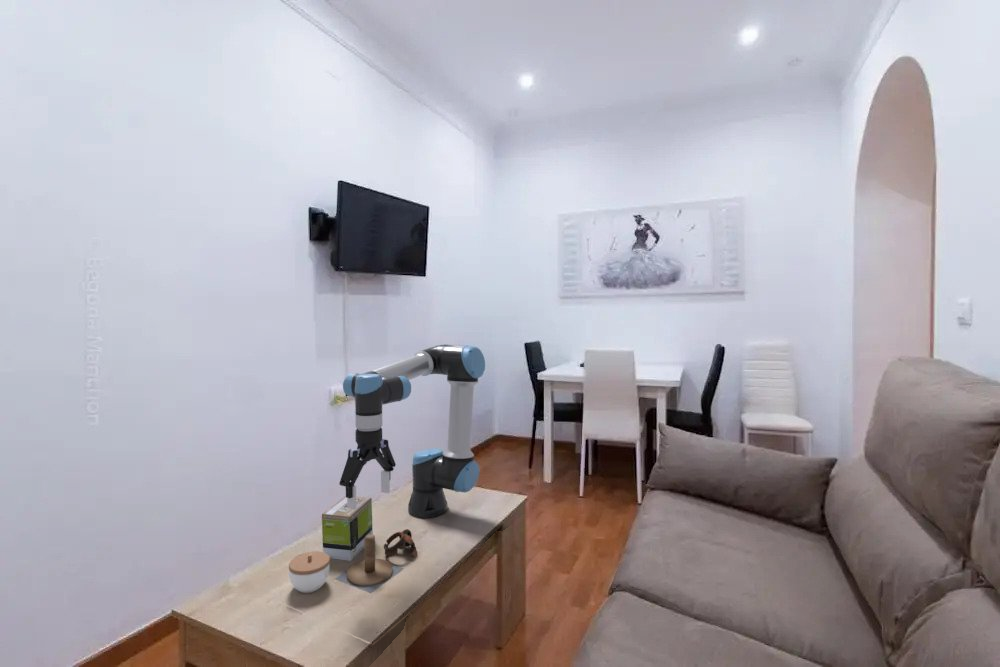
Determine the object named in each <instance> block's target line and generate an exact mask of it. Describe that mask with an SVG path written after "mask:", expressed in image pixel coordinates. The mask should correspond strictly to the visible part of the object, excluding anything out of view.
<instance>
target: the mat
mask: <svg viewBox="0 0 1000 667" xmlns="http://www.w3.org/2000/svg"><path fill="white" fill-rule="evenodd" d="M392 567H393V572H392V575H391V576H390V577H389V578H388V579H387V580H385V581H384V582H382V583H379V584H376V585H372V586H356V585H353V584H351V583H350V582H349V581H348V580H347V571H348V569H347V570H346V571H344V572H343V573H341V574H340V575H338V576H336V577H334V580H336V581H339V582H341V583H344V584H347V585H349V586H352V587H355V588H357V589H359V590H362V591H365V592H367V593H369V594H371V593H373V592H374V591H376V590H377V589H378V588H380V587H381V586H383V585H384V584H385V583H387V582H388V581H389V580H391V579H392V578H393V577H394V576H396V575H397V574H399V573H400V572H402V571H404V570H405V568H403V567H400V566H397V565H394V564H392Z"/></svg>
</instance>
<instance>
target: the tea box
mask: <svg viewBox="0 0 1000 667" xmlns="http://www.w3.org/2000/svg"><path fill="white" fill-rule="evenodd" d="M372 504H373V502H372V497H365V496H356V509H355V510H353V509H350V508H347V498H346V495H345V496H343V497H342V498H340V500H338V501H337V502H336V503H334V504H333V505H332V506H331V507H329V508H328V509H327V510H325V511H324V512H323V513H322V514H321V534H322V535H321V536H322V552H324V553H327V554H328V555H329V556H330V559H335V560H344V561H349V562H350V561H353V559H354V558H355V557H357V555H358V554H359V553H360V552H361V551H362V550H363V549H364V537H365V536H367V535H374V534H373V532H374V531H373V506H372Z"/></svg>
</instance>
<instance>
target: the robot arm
mask: <svg viewBox="0 0 1000 667" xmlns="http://www.w3.org/2000/svg"><path fill="white" fill-rule="evenodd" d="M485 370H486V360H485V356H484V354H483V352H482V350H481V349H480V348H478V347H477V346H474V345H473V346H472V345H459V344H439V345H435V346H432V347H428V348H426V349H423V350H419V351H417V352H416V353H414V355H413V356H411V357H407V358H405V359H402V360H399V361H396V362H393V363H390V364H387V365H385V366H382V367H379V368H376V369H373V370H371V371H367V372H363V373H359V372H358V373H357V372H356V373H350V374H348V375H346V377H344V380H343V382H342V389H343V393H344V394H345V395H346V396H348V397H351V398H354V401H355V402H354V403H355V411H354V413H355V417H354V418H355V428H356V429H355V432H354V433H355V442H356V444H357V446H356V449H351V448H350V449H348V451H347V459H346V462H345V465H344V468H343V471H342V474H341V477H340V481H339V486H341V487H344V488H345V496H346V498H347V508H350V509H353V510H355V509H356V497H357V485H355V484H356V482H357V480H358V478H359V475H360V474H361V472H362V470H363V468H364V466H365V465H367V463H368V462H371V460H375V461H376V462H377V463H378V465H379V466H381V467H380V468H382V470H381V471H380V492H381V493H386V494H389V493H390V488H391V487H390V484H391V483H390V482H391V472H393V471H394V469H395V467H396V466H397V465H396V462H395V459H394V457H393V454H392V451H391V449H390V446H389V440H388V439H385V438H383V428H382V427H383V405H387V404H391V403H396V402H401V401H403V400H406V399H408V398H409V397H410V395H411V393H412V384H411V381H410V380H412V379H416V378H418V377H420V376H422V377H428V376H429V375H430V376H431V375H443V376H446V381H447V382H448V384H449V385H450V393H449V394H450V396H449V411H448V412H449V414H448V428H447V429H448V431H447V445H446V446H447V449H446V450H445V451H443V450H442V449H441V448H430V449H424V450H420V451H417V452H416V453H414V455H413V456H412V464H411V466H412V467H411V468H412V469H411V470H412V493H411V495H410V498H409V502H408V505H407V511H408V514H410V515H411V516H413V517H416V518H421V519H422V518H424V519H425V518H427V519H428V518H429V519H430V518H435V517H439V516H441V515H444V514H446V512H447V511H448V501H447V499H446V495H445V491H444V489H445V490H450V491H452V492H453V491H454V492H455V493H468V492H470V491H471V490H472V489H474V487H475V485H476V484H477V482H478V479H479V476H480V465H479V463H478V462H477V461H476V460H474V459H475V454H474V453H473V452H472V450H471V444H472V443H471V441H472V424H473V422H472V421H473V403H474V387H475V386H476V385H477V384H478V382H479V379H480V378H481V377H482V376H483V375H484V372H485Z"/></svg>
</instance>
